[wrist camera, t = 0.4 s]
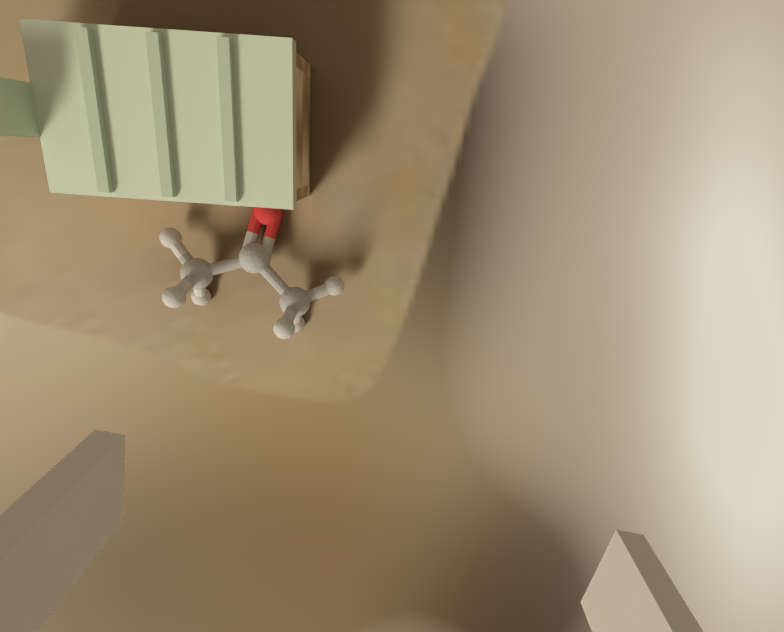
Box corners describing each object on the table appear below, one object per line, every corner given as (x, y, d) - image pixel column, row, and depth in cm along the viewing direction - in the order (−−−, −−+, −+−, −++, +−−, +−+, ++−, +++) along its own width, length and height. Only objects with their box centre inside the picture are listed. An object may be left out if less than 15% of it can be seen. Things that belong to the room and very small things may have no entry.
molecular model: (203, 187, 40) (172, 298, 40) (157, 157, 32) (118, 294, 32) (364, 233, 40) (333, 344, 40) (357, 213, 32) (318, 351, 32)
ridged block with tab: (-69, 16, 27) (-169, -13, 22) (296, 41, 27) (273, 18, 22) (-30, 184, 30) (-110, 190, 26) (296, 208, 30) (276, 218, 26)
